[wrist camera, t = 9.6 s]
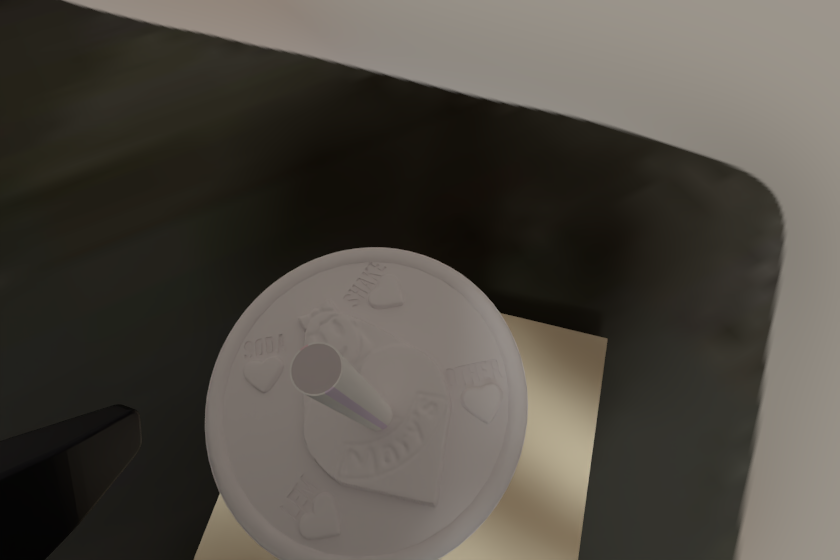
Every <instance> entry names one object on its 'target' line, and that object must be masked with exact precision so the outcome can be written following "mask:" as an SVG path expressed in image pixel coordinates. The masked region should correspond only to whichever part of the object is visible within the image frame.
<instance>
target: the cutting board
mask: <svg viewBox="0 0 840 560" xmlns="http://www.w3.org/2000/svg"><path fill="white" fill-rule="evenodd" d="M500 314H501V315H502V317H503V318H504V320H505V322H506V324H507V325H508V327H509V329H510V331H511V333H512V335H513V337H514V339H515V342H516V344H517V347H518V350H519V353H520V355H521V359H522V363H523V367H524V371H525V377H526V384H527V393H528V417H527V427H526V434H525V440H524V444H523V448H522V452H521V456H520V459H519V462H518V465H517V467H516V470H515V473H514V475H513V477H512V479H511V481H510V483H509V486H508V488H507V490H506V491H505V493H504V495H503V496H502V498H501V500H500V501H499V503H498V505H497V506H496V507H495V509H494V510H493V511H492V513H491V514H490V515H489V517H488V518H487V519H486V520H485V522H484V523H483V524H482V525H481V526H480V527H479V528H478V529H477V530H476V531H475V532H474V533H473V534H472V535H471V536H470V537H469V538H468V539H466V540H465V541H464V542H463V543H462V544H461V545H460V546H458V547H457V548H455V549H454V550H452V551H451V552H450V553H448V554H447V555H445V556H444V557H442V558H440V559H438V560H578V554H579V547H580V540H581V532H582V525H583V517H584V510H585V502H586V495H587V488H588V480H589V473H590V465H591V458H592V451H593V443H594V436H595V428H596V421H597V413H598V406H599V399H600V391H601V384H602V376H603V369H604V362H605V354H606V347H607V338H603V337H598V336H594V335H590V334H586V333H582V332H578V331H573V330H569V329H565V328H561V327H557V326H553V325H548V324H544V323H540V322H536V321H532V320H527V319H523V318H519V317H515V316H511V315H507V314H502V313H500ZM194 560H279V559H278V558H276V557H274V556H273V555H271V554H270V553H269V552H267V551H266V550H265V549H264V548H262V547H261V546H260V545H259V544H257V543H256V542H255V541H254V540H253V539H252V538H251V537H250V536H249V535H248V534H247V533H246V532H245V530H244V529H243V528H242V527H241V526H240V524H239V523H238V522H237V521H236V519H235V518H234V516H233V515H232V513H231V512H230V510H229V509H228V507H227V506H226V504H225V502H224V500H223V498H222V496H221V494H220V495H219V497H218V500H217V502H216V505H215V507H214V510H213V512H212V515H211V517H210V520H209V522H208V525H207V527H206V530H205V532H204V535H203V537H202V540H201V542H200V545H199V547H198V550H197V552H196V555H195V557H194Z"/></svg>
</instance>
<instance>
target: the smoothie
mask: <svg viewBox="0 0 840 560" xmlns="http://www.w3.org/2000/svg"><path fill="white" fill-rule="evenodd" d="M527 417H528V393H527V384H526V377H525V371H524V367H523V363H522V359H521V355H520V353H519V350H518V347H517V344H516V342H515V339H514V337H513V335H512V333H511V331H510V329H509V327H508V325H507V324H506V322H505V320H504V318H503V317H502V315H501V314H500V312H499V311H498V310H497V308H496V307H495V305H494V304H493V303H492V302H491V301H490V299H489V298H488V297H487V296H486V295H485V294H484V293H483V292H482V291H481V290H480V289H479V288H478V287H477V286H476V285H475V284H474V283H473V282H471V281H470V280H469V279H467V278H466V277H465V276H463V275H462V274H461V273H459V272H457V271H456V270H454V269H453V268H451V267H449V266H447V265H445V264H443V263H441V262H440V261H438V260H435V259H433V258H430V257H427V256H425V255H422V254H418V253H415V252H411V251H406V250H401V249H394V248H384V247H367V248H355V249H349V250H343V251H339V252H335V253H331V254H328V255H325V256H322V257H319V258H316V259H314V260H312V261H309V262H307V263H305V264H303V265H301V266H299V267H297V268H295V269H294V270H292V271H290V272H288V273H287V274H286V275H284V276H283V277H281V278H280V279H278V280H277V281H276V282H274V283H273V284H272V285H271V286H269V287H268V288H267V289H266V290H265V291H264V292H262V293H261V294H260V295H259V296H258V297H257V298H256V299H255V300H254V301H253V302H252V304H251V305H250V306H249V307H248V308H247V309H246V310H245V312H244V313H243V314H242V316H241V317H240V318H239V320H238V321H237V322H236V324H235V325H234V327H233V329H232V330H231V332H230V333H229V335H228V337H227V339H226V341H225V343H224V345H223V347H222V349H221V351H220V353H219V356H218V358H217V361H216V363H215V366H214V369H213V372H212V376H211V379H210V384H209V388H208V393H207V400H206V408H205V437H206V447H207V453H208V459H209V463H210V466H211V470H212V474H213V477H214V479H215V482H216V485H217V487H218V490H219V492H220V494H221V496H222V498H223V500H224V502H225V504H226V506H227V507H228V509H229V510H230V512H231V513H232V515H233V516H234V518H235V519H236V521H237V522H238V523H239V524H240V526H241V527H242V528H243V529H244V530H245V532H246V533H247V534H248V535H249V536H250V537H251V538H252V539H253V540H254V541H255V542H256V543H257V544H259V545H260V546H261V547H262V548H264V549H265V550H266V551H267V552H269V553H270V554H271V555H273V556H274V557H276V558H278V559H279V560H438V559H440V558H442V557H444V556H445V555H447V554H448V553H450V552H451V551H452V550H454V549H455V548H457V547H458V546H460V545H461V544H462V543H463V542H464V541H465V540H466V539H468V538H469V537H470V536H471V535H472V534H473V533H474V532H475V531H476V530H477V529H478V528H479V527H480V526H481V525H482V524H483V523H484V522H485V520H486V519H487V518H488V517H489V515H490V514H491V513H492V511H493V510H494V509H495V507H496V506H497V505H498V503H499V501H500V500H501V498H502V496H503V495H504V493H505V491H506V490H507V488H508V486H509V483H510V481H511V479H512V477H513V475H514V473H515V470H516V467H517V465H518V462H519V459H520V456H521V452H522V448H523V444H524V440H525V434H526V427H527Z"/></svg>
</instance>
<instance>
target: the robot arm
mask: <svg viewBox="0 0 840 560" xmlns="http://www.w3.org/2000/svg"><path fill="white" fill-rule="evenodd" d="M141 442H142V438H141V426H140V416H139V413H138V411H137V410H135V409H132V408H130V407H127V406H124V405H113V406H110V407H106V408H103V409H100V410H97V411H94V412H91V413H87V414H84V415H81V416H78V417H75V418H72V419H69V420H65V421H62V422H59V423H56V424H53V425H50V426H47V427H43V428H40V429H37V430H34V431H31V432H28V433H24V434H21V435H18V436H15V437H12V438H9V439H6V440H2V441H0V560H45V559H46V558H47V557H48V556H49V555H50V554H51V553H52V552H53V551H54V549H55V548H56V547H57V546H58V545H59V544H60V543H61V542H62V541H63V540H64V539H65V538H66V537H67V536H68V535H69V534H70V533H71V532H72V531H73V530H74V528H75V527H76V526H77V525H78V524H79V523H80V522H81V521H82V520H83V518H84V517H85V516H86V515H87V514H88V513H89V511H90V510H91V509H92V508H93V507H94V505H95V504H96V503H97V502H98V500H99V499H100V498H101V497H102V495H103V494H104V493H105V492H106V491H107V489H108V488H109V487H110V486H111V484H112V483H113V482H114V481H115V480H116V478H117V477H118V476H119V475H120V473H121V472H122V471H123V470H124V469H125V467H126V466H127V465H128V464H129V462H130V461H131V460H132V459H133V457H134V456H135V455H136V454H137V452H138V450H139V448H140V446H141Z"/></svg>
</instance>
